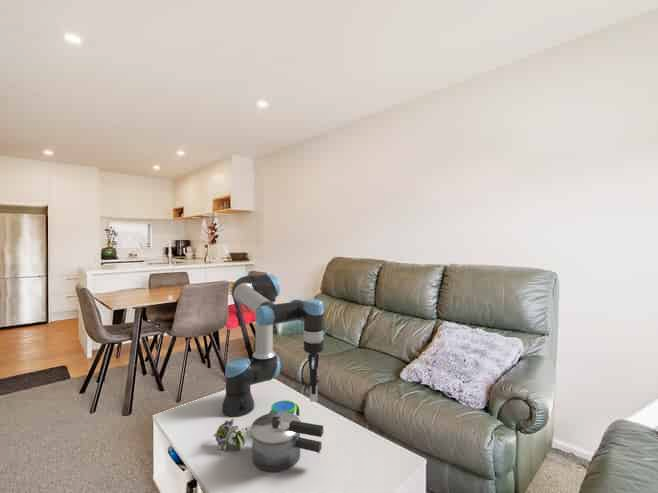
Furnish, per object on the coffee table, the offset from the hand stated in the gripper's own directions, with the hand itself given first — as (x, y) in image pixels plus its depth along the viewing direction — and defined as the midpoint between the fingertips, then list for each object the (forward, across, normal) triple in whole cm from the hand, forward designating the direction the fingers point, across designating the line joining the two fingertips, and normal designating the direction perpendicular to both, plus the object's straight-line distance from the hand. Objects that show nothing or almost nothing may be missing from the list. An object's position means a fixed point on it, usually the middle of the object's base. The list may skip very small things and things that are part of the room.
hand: (313, 400), depth 129 cm
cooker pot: (+20, -4, +10) cm, 23 cm away
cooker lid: (+10, -4, +10) cm, 14 cm away
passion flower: (+21, +5, +34) cm, 40 cm away
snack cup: (+21, +16, +14) cm, 29 cm away
